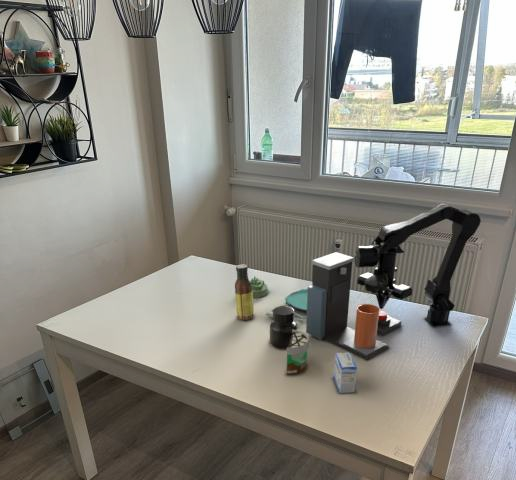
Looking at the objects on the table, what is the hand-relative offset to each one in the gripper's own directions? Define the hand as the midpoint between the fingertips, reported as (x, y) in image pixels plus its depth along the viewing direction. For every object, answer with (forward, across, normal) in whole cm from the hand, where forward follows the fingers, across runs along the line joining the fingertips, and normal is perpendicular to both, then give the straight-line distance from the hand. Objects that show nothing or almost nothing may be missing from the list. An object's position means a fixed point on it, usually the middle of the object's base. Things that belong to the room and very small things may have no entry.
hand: (381, 308), depth 168 cm
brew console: (+7, 0, 0) cm, 7 cm away
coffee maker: (+7, -1, -17) cm, 18 cm away
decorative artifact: (+7, -52, -13) cm, 54 cm away
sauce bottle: (+7, -38, -30) cm, 49 cm away
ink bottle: (+7, -14, -33) cm, 37 cm away
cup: (+5, +6, -16) cm, 18 cm away
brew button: (+4, 0, 0) cm, 4 cm away
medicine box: (+7, +16, -37) cm, 41 cm away
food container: (+7, +1, -40) cm, 41 cm away
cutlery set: (+7, -28, -9) cm, 30 cm away
